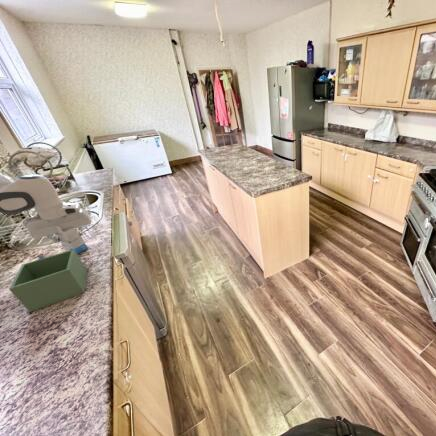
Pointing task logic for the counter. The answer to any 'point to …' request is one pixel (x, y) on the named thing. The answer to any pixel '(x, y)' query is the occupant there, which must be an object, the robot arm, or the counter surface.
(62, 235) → the ink box
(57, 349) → the counter surface
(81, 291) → the waste bin
